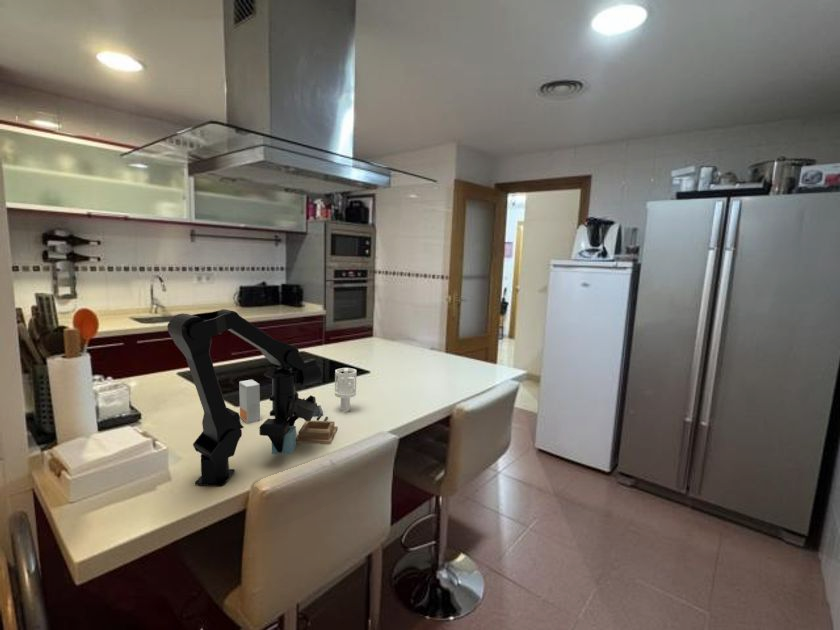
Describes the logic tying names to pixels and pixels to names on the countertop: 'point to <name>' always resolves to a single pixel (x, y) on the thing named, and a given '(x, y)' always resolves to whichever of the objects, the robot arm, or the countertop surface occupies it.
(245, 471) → the countertop surface
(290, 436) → the blue drawer box
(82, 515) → the countertop surface
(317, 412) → the phone
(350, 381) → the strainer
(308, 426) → the dock
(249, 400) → the skincare box
